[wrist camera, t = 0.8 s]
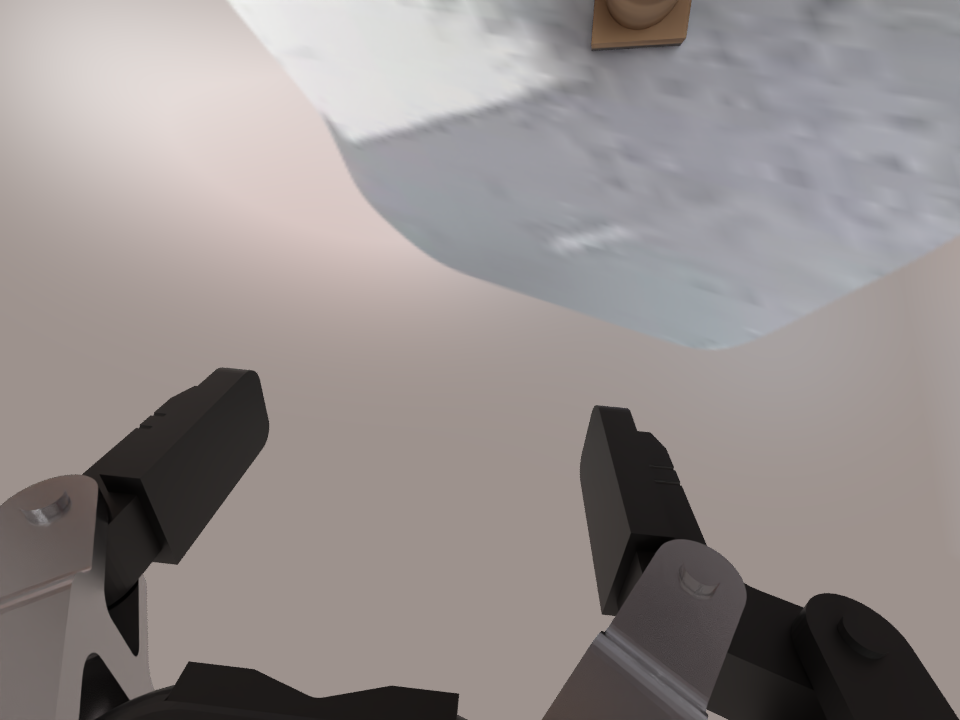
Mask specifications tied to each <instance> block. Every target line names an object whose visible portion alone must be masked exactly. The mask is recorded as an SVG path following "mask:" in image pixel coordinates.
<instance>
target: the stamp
mask: <svg viewBox="0 0 960 720" xmlns="http://www.w3.org/2000/svg"><path fill="white" fill-rule="evenodd" d="M691 1H692V0H595V3H594V16H593V29H592V42H591V46H592V51H596V50H613V49H630V48H647V47H663V46H680V45H681V44H682V42H683V41H684V40H685V38H686V34H687V28H688V21H689V14H690V7H691Z"/></svg>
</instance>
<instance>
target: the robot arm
mask: <svg viewBox="0 0 960 720" xmlns="http://www.w3.org/2000/svg"><path fill="white" fill-rule="evenodd" d="M268 433H269V420H268V415H267V411H266V406H265V402H264V397H263V392H262V388H261V383H260V379H259V376H258V374H257V373H256V372H255V371H252V370H242V369H232V368H218V369H216V370H215V371H214V372H213V373H212V374H211V375H210V376H209V377H207V378H206V379H205V380H204V381H203V382H202V383H201V384H199V385H198V386H194V387H192V388H190V389H188V390H186V391H184V392H182V393H180V394H178V395H176V396H174V397H172V398H170V399H169V400H168V401H167V402H166V403H165V404H163V405H162V406H161V407H160V408H159V409H158V410H157V411H155V412H154V416H150V417H148V418H147V419H146V420H145V421H144V422H143V423H141V424H140V428H136V429H134V430H133V431H132V432H131V433H130V434H129V435H127V436H126V437H125V438H124V439H123V440H122V441H120V442H119V443H118V444H117V445H116V446H115V447H114V448H112V449H111V450H110V451H109V452H108V453H107V454H105V455H104V456H103V457H102V458H101V459H100V460H98V461H97V462H96V463H95V464H94V465H93V466H91V467H90V468H89V469H88V470H87V471H86V472H85V473H83V474H82V475H76V474H75V475H64V476H58V477H54V478H50V479H47V480H44V481H41V482H38V483H36V484H33V485H31V486H29V487H27V488H25V489H23V490H22V491H20V492H18V493H17V494H15V495H13V496H12V497H10V498H9V499H8V500H7V501H5V502H4V503H3V504H2V505H1V506H0V720H467V719H465V718H463V717H461V716H459V715H457V710H458V698H459V694H457V693H447V692H440V691H431V690H423V689H415V688H406V687H398V686H388V687H381V688H376V689H370V690H364V691H359V692H353V693H347V694H342V695H335V696H330V697H324V698H314V697H311V696H308V695H306V694H304V693H302V692H300V691H298V690H296V689H294V688H292V687H290V686H287V685H285V684H283V683H281V682H279V681H277V680H275V679H273V678H271V677H269V676H267V675H265V674H263V673H261V672H259V671H256V670H255V669H247V668H239V667H230V666H222V665H213V664H205V663H197V662H188V664H187V665H186V667H185V669H184V671H183V672H182V674H181V676H180V677H179V679H178V681H177V682H176V684H175V685H173V686H169V687H166V688H162V689H159V690H155V691H154V688H153V685H152V682H151V677H150V672H149V664H148V631H147V630H148V628H147V627H148V626H147V586H146V580H145V578H144V576H143V573H144V571H145V570H146V569H147V568H148V566H149V565H150V564H151V563H152V562H159V563H168V564H176V565H177V564H178V563H179V562H180V561H181V559H182V558H183V556H184V555H185V554H186V552H187V551H188V550H189V548H190V547H191V545H192V544H193V543H194V541H195V540H196V539H197V537H198V536H199V535H200V533H201V532H202V530H203V529H204V528H205V526H206V525H207V524H208V522H209V521H210V519H211V518H212V517H213V515H214V514H215V513H216V511H217V510H218V509H219V507H220V506H221V505H222V503H223V502H224V500H225V499H226V498H227V496H228V495H229V494H230V492H231V491H232V490H233V488H234V487H235V485H236V484H237V483H238V481H239V480H240V479H241V477H242V476H243V475H244V473H245V472H246V470H247V469H248V468H249V466H250V465H251V464H252V462H253V461H254V460H255V458H256V457H257V455H258V454H259V452H260V451H261V450H262V448H263V447H264V445H265V443H266V441H267V438H268ZM673 468H674V466H673V464H672V462H671V459H670V457H669V454H668V453H667V450H666V448H665V447H664V446H663V445H662V444H661V443H660V442H659V441H658V440H657V439H656V438H655V437H654V436H653V435H652V434H651V433H649V432H639V431H637V429H636V427H635V423H634V421H633V418H632V415H631V412H630V410H629V409H628V408H618V407H608V406H598V405H596V406H594V408H593V411H592V414H591V418H590V422H589V427H588V431H587V435H586V439H585V443H584V448H583V451H582V456H581V463H580V481H581V487H582V493H583V500H584V506H585V512H586V518H587V524H588V531H589V537H590V544H591V550H592V556H593V562H594V569H595V575H596V580H597V587H598V593H599V599H600V606H601V612H602V614H603V615H612V616H615V618H614V619H613V621H612V623H611V624H610V626H609V627H608V628H607V630H606V631H605V632H603V631H601V632H600V633H599V634H598V635H597V637H596V638H595V639H594V641H593V642H592V644H591V645H590V647H589V648H588V650H587V651H586V653H585V654H584V656H583V657H582V659H581V660H580V662H579V664H578V665H577V667H576V668H575V670H574V671H573V673H572V674H571V676H570V677H569V679H568V680H567V682H566V683H565V685H564V686H563V688H562V689H561V691H560V693H559V694H558V696H557V697H556V699H555V700H554V702H553V703H552V705H551V707H550V708H549V709H548V711H547V713H546V714H545V716H544V717H543V719H542V720H708V714H707V713H706V709H707V710H709V711H711V712H714V713H716V714H718V715H720V716H722V717H724V718H726V719H728V720H959V719H958V717H957V716H956V714H955V713H954V711H953V710H952V708H951V707H950V705H949V704H948V702H947V701H946V699H945V697H944V696H943V694H942V693H941V691H940V690H939V688H938V687H937V685H936V684H935V682H934V681H933V679H932V678H931V676H930V675H929V673H928V672H927V670H926V669H925V667H924V666H923V664H922V663H921V661H920V660H919V658H918V657H917V655H916V653H915V652H914V650H913V649H912V647H911V646H910V645H909V643H908V642H907V641H906V639H905V638H904V637H903V636H902V635H901V634H900V632H899V631H898V630H897V629H896V628H895V627H893V626H892V625H891V624H890V623H889V622H888V621H887V620H886V619H884V618H883V617H882V616H881V615H879V614H878V613H876V612H875V611H873V610H872V609H871V608H869V607H867V606H865V605H864V604H862V603H860V602H857V601H855V600H853V599H851V598H848V597H845V596H841V595H837V594H830V593H824V594H818V595H816V596H814V597H812V598H811V599H810V600H809V601H808V603H807V604H806V606H805V607H804V608H803V607H800V606H798V605H795V604H793V603H790V602H788V601H785V600H782V599H780V598H777V597H775V596H772V595H770V594H767V593H764V592H762V591H759V590H757V589H755V588H752V587H750V586H748V585H747V584H745V583H744V582H743V580H742V578H741V576H740V575H739V573H738V572H737V570H736V569H735V568H734V566H733V565H732V564H731V563H730V562H729V561H728V560H727V559H726V558H725V557H723V556H722V555H721V554H720V553H718V552H717V551H715V550H713V549H712V548H710V547H708V546H707V545H706V543H705V540H704V538H703V535H702V533H701V531H700V528H699V526H698V524H697V521H696V519H695V516H694V514H693V512H692V509H691V507H690V504H689V502H688V500H687V497H686V495H685V493H684V490H683V488H682V486H680V481H679V478H678V476H677V473H676V471H675V470H673Z"/></svg>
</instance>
